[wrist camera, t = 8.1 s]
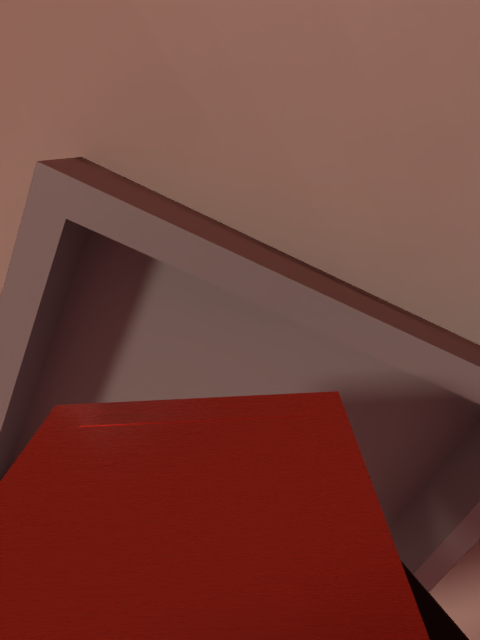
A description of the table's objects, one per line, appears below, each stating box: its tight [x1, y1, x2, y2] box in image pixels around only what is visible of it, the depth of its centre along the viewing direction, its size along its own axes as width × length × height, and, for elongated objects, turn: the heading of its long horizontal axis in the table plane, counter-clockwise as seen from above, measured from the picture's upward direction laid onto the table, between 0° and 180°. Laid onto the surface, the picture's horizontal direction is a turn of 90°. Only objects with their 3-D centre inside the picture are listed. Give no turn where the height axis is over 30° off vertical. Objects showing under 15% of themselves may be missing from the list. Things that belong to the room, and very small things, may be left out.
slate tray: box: [0, 157, 480, 592], centre depth 18 cm, size 20×16×4 cm
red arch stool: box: [0, 391, 430, 640], centre depth 7 cm, size 6×5×6 cm
